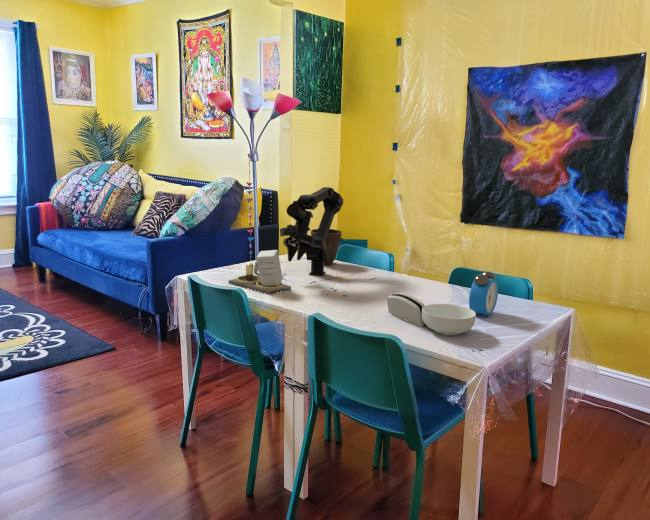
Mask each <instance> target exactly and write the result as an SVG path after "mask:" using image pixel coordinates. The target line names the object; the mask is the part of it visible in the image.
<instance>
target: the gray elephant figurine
mask: <svg viewBox="0 0 650 520" xmlns="http://www.w3.org/2000/svg"><path fill="white" fill-rule="evenodd" d="M254 263H255V264H254V265H253V274H257V273H258V272H259V269H258V263H257V259H256V260H255V262H254Z"/></svg>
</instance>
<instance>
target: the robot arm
mask: <svg viewBox="0 0 650 520" xmlns="http://www.w3.org/2000/svg"><path fill="white" fill-rule="evenodd" d="M321 202H322V203H323V208H324V211H323V215H322V216H321V219H320V223H319V225H318V228H317V229H318V231H317V233H316V236H315V238H313V236H311V234H310V235H309V234H308V232H309V231H310V232H311V228H310V223H311V219H313V218H314V214H313V213H312V211H315V209H317V208H318V206H319V203H321ZM343 205H344V198H343V196H342V195H341V194H340V193H339V192H338V191H336V190H335V189H334V188H333V187H329V186H327V187H326V186H325V187H321V188H320V189H319V190H316V191H315V192H312V193H310V194H301V195H300V196H299V198H298V199H297V200H293V202H292V203H291V204H289V205H288V206H287V207H286V214H287V215H288V216H289V217H290V218H292V219H293V220H294V221H295V224H288V225H286V227H281V228H280V229H279V233H280V235H279V236H280V237H285V238H284V239H283V242H282V244H283V245H284V246H285V248H286V250H287V261H288V262H290V263H291V262H292V260H293V259H294V257H295V255H296V260H297V261H300V260H301V259H302V257H304V255H305V257H306V260H307V261H310V272H309V273H308V275H309V276H319V277H320V276H322V277H324V275H325V274H326V271H325V265H324V262H328V259H329V255H328V253H327V251H326V249H327V248H326V244H325V241H326V238H327V235H328V232H329V229H331V226H332V225H333V224H332V223H333V221H334V218H335V216H336V215H337V213H339V212H340V211H341V209H342V207H343ZM288 236H289V237H288Z"/></svg>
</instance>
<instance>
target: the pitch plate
mask: <svg viewBox="0 0 650 520" xmlns="http://www.w3.org/2000/svg"><path fill="white" fill-rule="evenodd" d="M228 284H229V285H233V286H237V287H241V288H243V287H245V289H247V288H249V289H248V290H250V289H252V290H251V291H254V290H256V291H255V292H257V291H259V292H258V293H261V292H262V294H264V293H266V294H265V295H268V294H271V295H274V294H273V293H275V294H278V293H277V292H279V293H281V292H280V291H282V292H285V290H286V291H290V290H292V286H291V285H288V284H284V282H283V281H281V283H280V285H278V286H262V285H261V280H260V275H254V263H252V262H249V263H246V264H245V275H240V276H236V278H234V279H230V280H229V279H228ZM289 289H290V290H289Z"/></svg>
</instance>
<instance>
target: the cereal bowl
mask: <svg viewBox="0 0 650 520" xmlns="http://www.w3.org/2000/svg"><path fill="white" fill-rule="evenodd" d="M422 319H423V321H424V323H425V326H427V327H428V328H429V329H431V330H433V331H434V332H435V331H436V332H435V333H437V332H438V333H437V334H439V333H441V334H440V335H442V334H446V335H445V336H449V335H453V336H458V335H459V334H462V333H465V332H468V331H470V330H471V329H472V328H473V327H474V325H475V323H476V319H477V313H475V312H474V311H473V310H471V309H470V307H466V306H462V305H457V304H452V303H451V304H450V303H432V304H427V305H425V306H424V307H423V308H422ZM457 334H458V335H457Z"/></svg>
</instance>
